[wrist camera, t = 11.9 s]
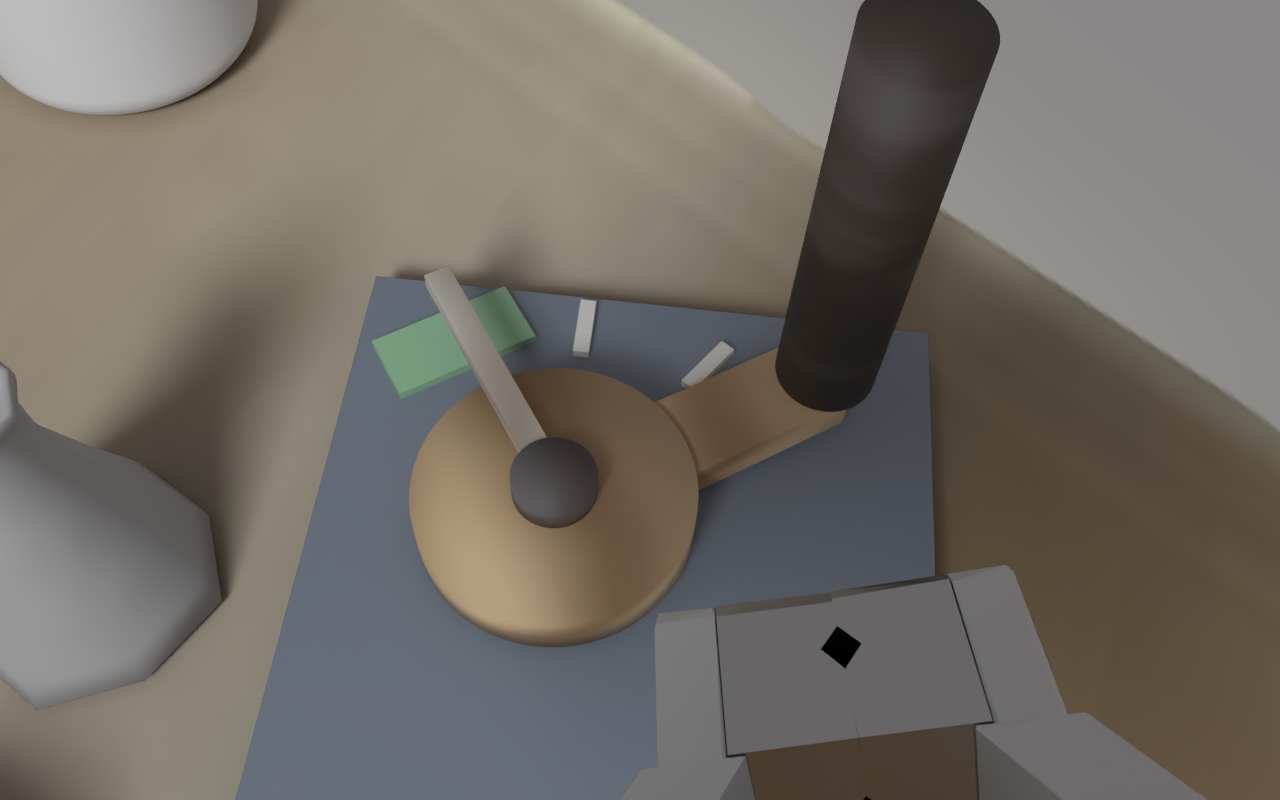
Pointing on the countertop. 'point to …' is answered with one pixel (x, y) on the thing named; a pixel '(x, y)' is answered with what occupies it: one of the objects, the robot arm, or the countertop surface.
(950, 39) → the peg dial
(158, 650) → the flask
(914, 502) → the board
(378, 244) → the countertop surface
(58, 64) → the cup
